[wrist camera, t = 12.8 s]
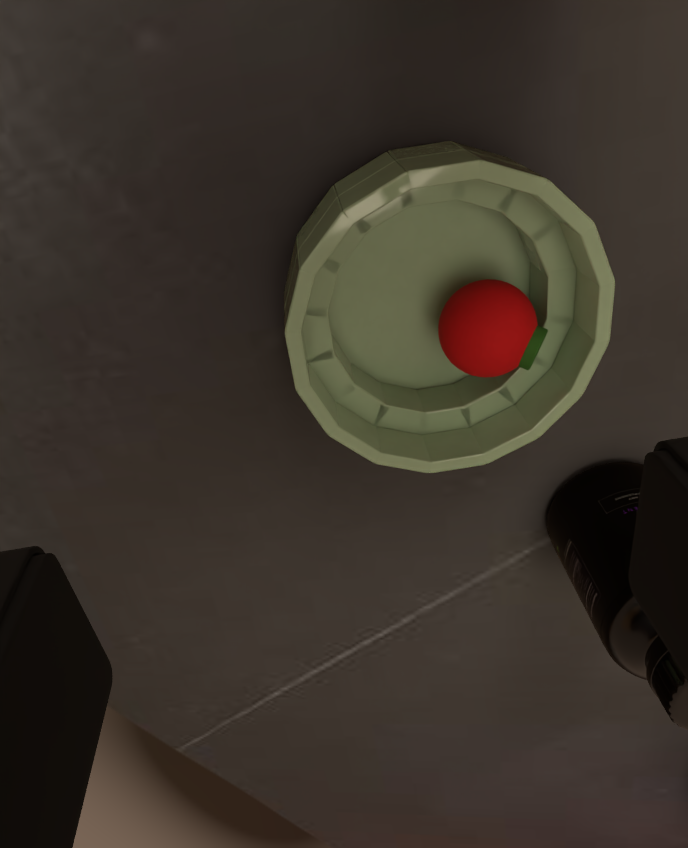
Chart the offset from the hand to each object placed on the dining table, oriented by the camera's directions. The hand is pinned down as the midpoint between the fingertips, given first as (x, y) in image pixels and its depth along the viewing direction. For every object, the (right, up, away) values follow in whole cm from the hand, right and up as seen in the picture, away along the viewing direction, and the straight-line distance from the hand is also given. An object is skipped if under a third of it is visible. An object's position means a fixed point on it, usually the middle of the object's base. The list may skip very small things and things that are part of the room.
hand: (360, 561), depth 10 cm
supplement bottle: (+14, -2, +25) cm, 29 cm away
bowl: (+3, +8, +18) cm, 20 cm away
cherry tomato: (+4, +7, +17) cm, 18 cm away
